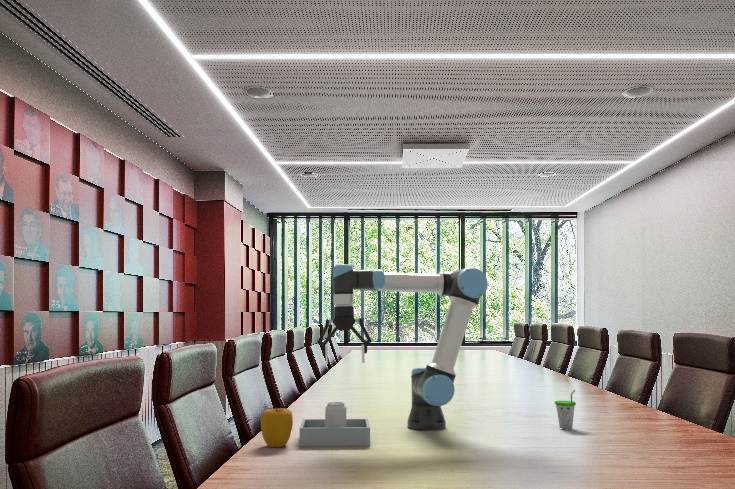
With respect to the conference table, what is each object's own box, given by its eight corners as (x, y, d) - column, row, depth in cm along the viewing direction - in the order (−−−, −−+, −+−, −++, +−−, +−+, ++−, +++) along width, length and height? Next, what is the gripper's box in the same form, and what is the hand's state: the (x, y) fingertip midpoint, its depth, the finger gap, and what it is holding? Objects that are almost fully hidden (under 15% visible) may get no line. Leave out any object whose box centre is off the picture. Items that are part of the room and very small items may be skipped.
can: (343, 439, 214) (343, 404, 215) (322, 438, 215) (322, 403, 217) (348, 435, 221) (348, 401, 222) (328, 434, 223) (328, 400, 224)
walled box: (367, 435, 227) (367, 418, 228) (370, 445, 210) (370, 427, 210) (302, 435, 226) (302, 419, 227) (299, 446, 209) (299, 428, 209)
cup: (554, 429, 238) (553, 390, 240) (556, 426, 246) (555, 388, 247) (575, 431, 236) (574, 391, 237) (577, 427, 243) (575, 389, 244)
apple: (280, 441, 217) (280, 403, 219) (299, 445, 210) (299, 407, 211) (253, 445, 210) (254, 407, 211) (272, 450, 202) (273, 410, 203)
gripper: (375, 304, 236) (377, 361, 233) (310, 306, 234) (311, 363, 231) (377, 304, 228) (379, 362, 226) (310, 306, 226) (311, 365, 224)
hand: (345, 363), depth 229 cm, fingers open, 13 cm apart
